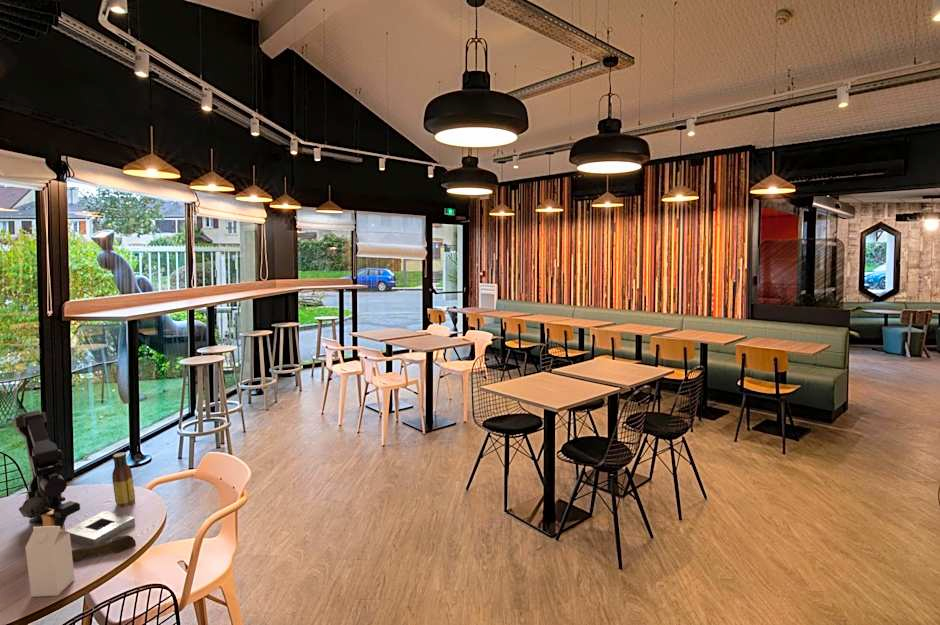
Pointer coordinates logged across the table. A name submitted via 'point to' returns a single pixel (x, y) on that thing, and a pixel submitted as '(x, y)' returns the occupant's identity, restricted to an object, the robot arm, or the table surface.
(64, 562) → the milk carton
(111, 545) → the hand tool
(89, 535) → the grey square hole board
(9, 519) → the table surface
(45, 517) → the orange rectangular block
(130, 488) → the sauce bottle
